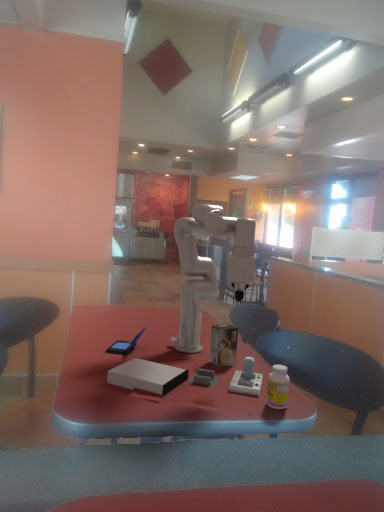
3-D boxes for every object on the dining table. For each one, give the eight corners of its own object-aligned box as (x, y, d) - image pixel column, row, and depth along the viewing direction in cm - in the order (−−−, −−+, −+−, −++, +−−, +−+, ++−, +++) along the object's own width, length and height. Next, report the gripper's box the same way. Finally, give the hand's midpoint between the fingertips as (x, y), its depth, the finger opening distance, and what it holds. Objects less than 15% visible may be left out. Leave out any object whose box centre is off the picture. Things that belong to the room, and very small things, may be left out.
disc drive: (164, 400, 133) (165, 385, 133) (106, 384, 143) (107, 370, 142) (188, 383, 149) (189, 369, 149) (134, 369, 159) (135, 357, 158)
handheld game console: (117, 343, 191) (118, 323, 190) (145, 346, 189) (146, 326, 188) (105, 353, 175) (106, 331, 174) (135, 356, 173) (137, 335, 173)
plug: (241, 384, 150) (244, 358, 150) (242, 381, 154) (245, 355, 153) (252, 386, 150) (254, 360, 149) (252, 382, 153) (254, 357, 152)
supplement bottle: (263, 400, 138) (267, 362, 137) (283, 401, 138) (286, 363, 137) (269, 409, 131) (272, 370, 130) (289, 410, 132) (293, 370, 131)
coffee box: (227, 361, 175) (230, 324, 174) (235, 366, 169) (239, 327, 168) (208, 363, 171) (211, 325, 169) (216, 368, 165) (219, 329, 164)
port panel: (228, 393, 141) (229, 384, 141) (235, 377, 157) (236, 368, 156) (258, 398, 139) (259, 388, 139) (262, 382, 154) (262, 373, 154)
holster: (187, 384, 147) (188, 374, 146) (192, 376, 154) (193, 367, 154) (215, 389, 144) (216, 379, 144) (219, 381, 152) (220, 371, 152)
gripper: (221, 250, 151) (217, 300, 153) (262, 254, 148) (258, 305, 149) (224, 249, 159) (220, 297, 160) (264, 253, 155) (260, 301, 157)
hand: (238, 301), depth 155 cm, fingers closed
